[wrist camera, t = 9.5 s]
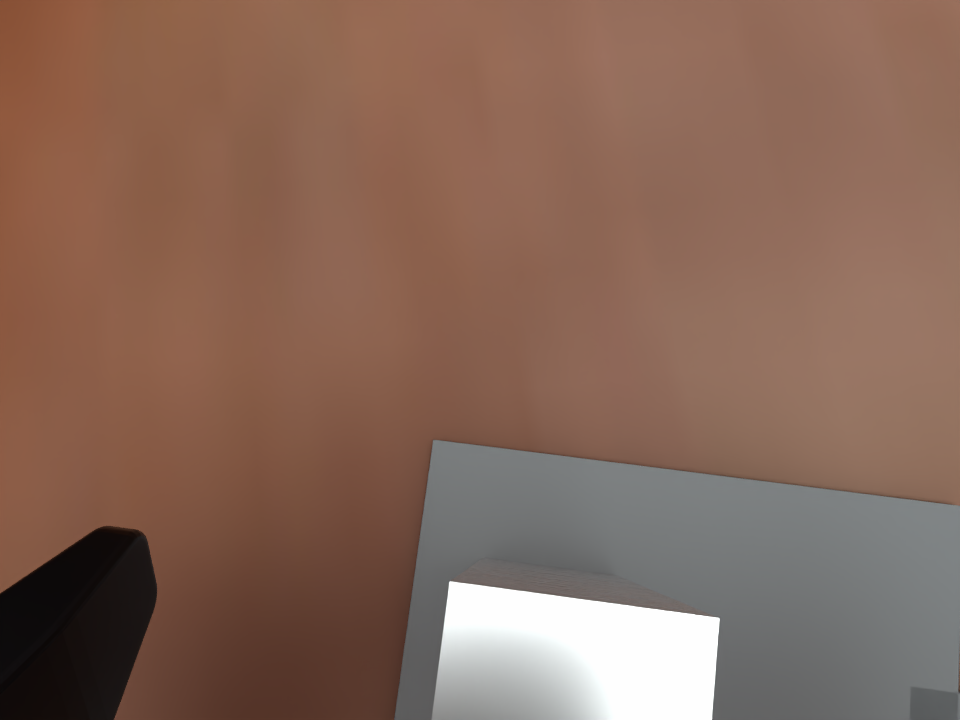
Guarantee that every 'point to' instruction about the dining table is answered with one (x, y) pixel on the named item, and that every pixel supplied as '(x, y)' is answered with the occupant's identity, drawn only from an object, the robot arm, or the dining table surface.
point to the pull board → (674, 596)
